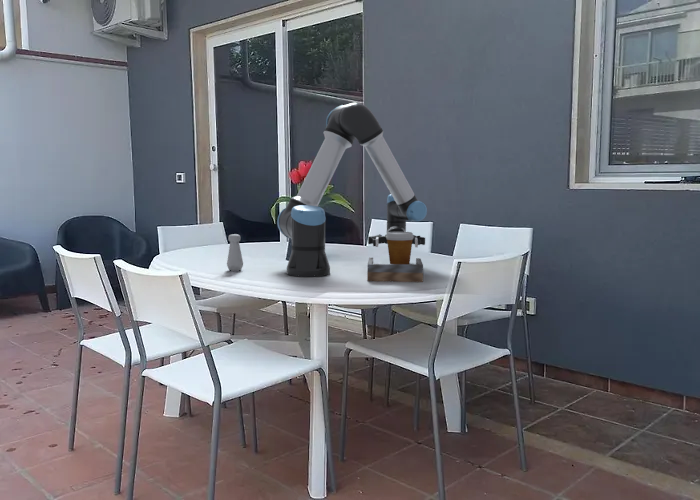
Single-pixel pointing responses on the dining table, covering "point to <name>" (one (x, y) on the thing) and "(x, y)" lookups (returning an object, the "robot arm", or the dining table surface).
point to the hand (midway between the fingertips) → (396, 243)
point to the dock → (395, 272)
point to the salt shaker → (234, 253)
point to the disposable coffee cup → (399, 247)
